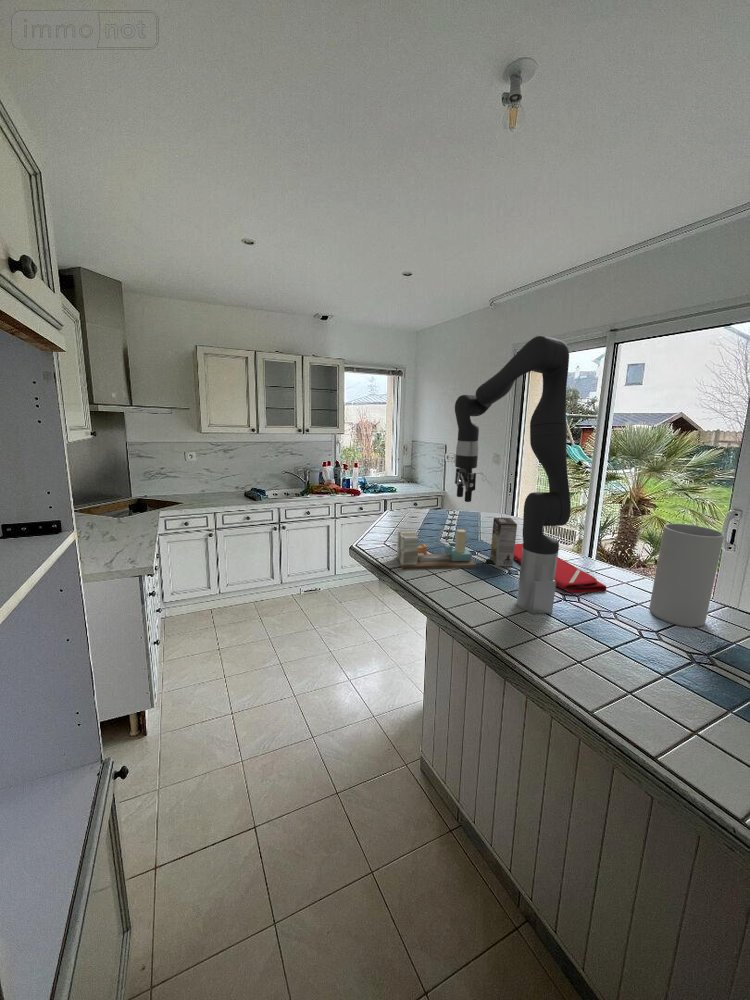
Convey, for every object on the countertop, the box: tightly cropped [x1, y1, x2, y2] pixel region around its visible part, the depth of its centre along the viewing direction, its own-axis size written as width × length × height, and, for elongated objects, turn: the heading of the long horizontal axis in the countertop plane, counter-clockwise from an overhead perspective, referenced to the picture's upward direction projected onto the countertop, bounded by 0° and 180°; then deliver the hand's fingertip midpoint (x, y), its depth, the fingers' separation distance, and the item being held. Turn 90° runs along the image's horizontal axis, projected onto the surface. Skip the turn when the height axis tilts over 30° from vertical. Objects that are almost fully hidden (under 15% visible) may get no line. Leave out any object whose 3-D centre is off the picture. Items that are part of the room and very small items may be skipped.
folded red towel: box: [513, 543, 607, 594], centre depth 144 cm, size 16×41×4 cm, turn 10°
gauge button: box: [418, 543, 428, 555], centre depth 146 cm, size 3×6×3 cm, turn 97°
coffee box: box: [490, 517, 518, 567], centre depth 148 cm, size 9×6×16 cm
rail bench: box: [396, 530, 478, 570], centre depth 146 cm, size 12×27×11 cm, turn 97°
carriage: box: [443, 529, 473, 561], centre depth 147 cm, size 6×9×11 cm, turn 97°
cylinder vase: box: [649, 523, 725, 628], centre depth 108 cm, size 12×12×25 cm
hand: (463, 499), depth 144 cm, fingers open, 8 cm apart
